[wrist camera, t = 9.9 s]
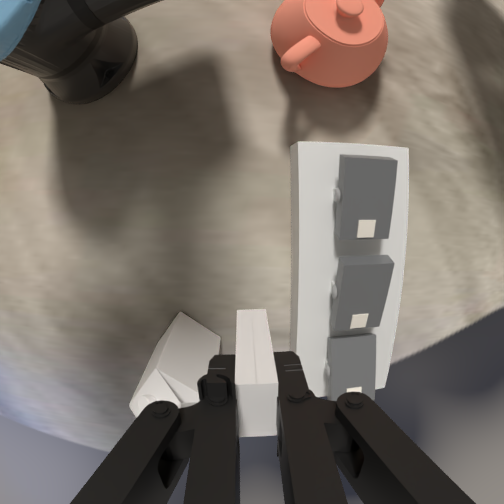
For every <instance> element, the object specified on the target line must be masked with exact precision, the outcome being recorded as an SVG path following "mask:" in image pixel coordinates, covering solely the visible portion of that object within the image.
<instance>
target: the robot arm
mask: <svg viewBox="0 0 504 504" xmlns="http://www.w3.org/2000/svg"><path fill="white" fill-rule="evenodd" d="M160 1H163V0H0V63H1V64H3V65H6V66H9V67H12V68H15V69H18V70H21V71H23V72H26V73H29V74H32V75H34V76H37V77H39V79H40V80H41V81H42V82H43V83H44V85H45V87H46V88H47V90H48V91H49V92H50V93H51V94H52V95H53V96H54V97H56V98H58V99H60V100H62V101H65V102H68V103H72V104H84V103H89V102H92V101H95V100H97V99H99V98H101V97H103V96H105V95H106V94H108V93H109V92H110V91H112V90H113V89H114V88H115V87H116V86H117V85H118V84H119V83H120V82H121V81H122V80H123V79H124V77H125V76H126V75H127V73H128V71H129V70H130V68H131V66H132V64H133V62H134V59H135V56H136V52H137V36H136V32H135V30H134V28H133V26H132V25H131V24H130V22H129V21H128V20H127V19H126V18H125V17H124V16H126V15H128V14H130V13H132V12H135V11H137V10H140V9H142V8H144V7H147V6H149V5H152V4H155V3H157V2H160ZM197 387H198V394H199V402H198V403H196V404H194V405H192V406H188V407H183V408H178V406H177V405H176V404H175V403H173V402H170V401H164V400H160V401H155V402H152V403H150V404H148V405H147V406H146V407H145V408H144V409H143V410H142V412H141V413H140V414H139V416H138V417H137V418H136V420H135V421H134V422H133V423H132V425H131V426H130V427H129V429H128V430H127V431H126V432H125V434H124V435H123V436H122V438H121V439H120V440H119V442H118V443H117V444H116V445H115V447H114V448H113V449H112V451H111V452H110V453H109V454H108V456H107V457H106V458H105V460H104V461H103V462H102V463H101V465H100V466H99V467H98V469H97V470H96V471H95V472H94V474H93V475H92V476H91V477H90V479H89V480H88V481H87V483H86V484H85V485H84V486H83V488H82V489H81V490H80V492H79V493H78V494H77V495H76V497H75V498H74V499H73V500H72V502H71V503H70V504H167V502H168V500H169V498H170V496H171V494H172V493H173V491H174V489H175V487H176V485H177V483H178V481H179V479H180V477H181V475H182V473H183V471H184V469H185V467H186V466H187V463H188V461H189V458H190V463H189V470H188V477H187V483H186V490H185V497H184V504H240V446H239V437H253V436H272V435H277V433H278V445H277V456H279V461H280V468H281V475H282V484H283V492H284V500H285V504H348V503H347V500H346V496H345V492H344V489H343V486H342V482H341V479H340V476H339V473H338V469H337V466H338V467H339V469H340V470H341V472H342V473H343V475H344V476H345V477H346V479H347V480H348V482H349V483H350V485H351V486H352V488H353V489H354V490H355V492H356V493H357V495H358V496H359V497H360V499H361V500H362V502H363V503H364V504H476V503H475V502H474V501H473V500H472V499H470V498H469V496H467V495H466V494H465V493H464V492H463V491H462V490H461V489H460V488H459V487H458V486H457V485H456V484H455V483H454V482H453V481H452V480H451V479H450V478H449V477H448V476H447V475H446V474H445V473H444V472H443V471H442V470H441V469H440V468H439V467H438V466H437V465H436V464H435V463H434V462H433V461H432V460H431V459H430V458H429V457H428V456H427V455H426V454H425V453H424V452H423V451H422V450H421V449H420V448H419V447H418V446H417V445H416V444H415V443H414V442H413V441H412V440H411V439H410V438H409V437H408V436H407V435H406V434H405V433H404V432H403V431H402V430H401V429H400V428H399V427H398V426H397V425H396V424H395V423H394V422H393V421H392V420H391V419H390V417H389V416H388V415H387V414H385V412H384V411H383V410H382V409H381V408H380V407H379V406H378V405H377V404H376V403H375V402H374V401H373V400H372V399H371V398H370V397H369V396H367V395H366V394H364V393H361V392H353V391H352V392H346V393H344V394H342V395H340V396H339V397H338V398H337V401H331V400H324V399H320V398H318V397H316V396H315V394H314V393H313V391H311V390H310V389H309V388H308V384H307V381H306V378H305V374H304V371H303V368H302V365H301V361H300V358H299V356H298V355H297V354H296V353H294V352H293V351H287V352H273V349H272V343H271V337H270V331H269V325H268V320H267V314H266V309H247V310H237V328H236V355H214V356H213V357H212V358H211V360H210V361H209V365H208V372H207V374H206V375H203V376H202V377H201V378H199V380H198V382H197ZM336 464H337V466H336Z"/></svg>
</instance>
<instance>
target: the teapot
mask: <svg viewBox="0 0 504 504" xmlns="http://www.w3.org/2000/svg"><path fill="white" fill-rule="evenodd" d="M383 2H384V0H285V1H284V2H283V3H282V4H281V5H280V7H279V8H278V10H277V11H276V13H275V15H274V18H273V21H272V25H271V40H272V43H273V46H274V48H275V50H276V52H277V54H278V55H279V56H280V58H281V65H282V67H283V68H284V69H285V70H287V71H289V72H296V73H297V74H298V75H300V76H301V77H303V78H305V79H306V80H308V81H311V82H313V83H315V84H318V85H321V86H326V87H334V88H339V87H347V86H351V85H355V84H357V83H359V82H361V81H363V80H365V79H366V78H367V77H369V76H370V75H371V74H372V73H373V72H374V71H375V70H376V69H377V67H378V66H379V64H380V63H381V61H382V59H383V57H384V55H385V52H386V48H387V43H388V31H387V25H386V21H385V18H384V15H383V13H382V11H381V9H380V7H381V6H382V4H383Z"/></svg>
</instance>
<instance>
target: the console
mask: <svg viewBox="0 0 504 504" xmlns="http://www.w3.org/2000/svg"><path fill="white" fill-rule="evenodd" d="M340 154H346V155H366V156H381V157H391V158H393V159H396V160H398V164H397V175H396V185H395V194H394V203H393V211H392V218H391V225H390V232H389V238H388V239H362V240H339V239H338V237H337V236H336V234H335V221H336V208H337V203H336V202H335V197H334V193H335V189H336V188H338V177H339V157H340ZM290 162H291V319H290V351H293V352H294V353H296V354H297V355H298V356H299V358H300V361H301V365H302V368H303V371H304V374H305V378H306V381H307V384H308V388H309V389H310V390H311V391H313V393H314V394H315V396H316V397H323V396H328V377H327V376H326V365H328V337H335V336H346V335H356V334H365V333H372V334H376V379H375V389H380V388H384V387H385V384H386V379H387V375H388V370H389V365H390V360H391V355H392V350H393V345H394V339H395V334H396V328H397V321H398V315H399V308H400V301H401V293H402V285H403V276H404V266H405V255H406V242H407V226H408V202H409V149H408V148H404V147H394V146H383V145H370V144H355V143H336V142H304V141H298V142H296V143H294V144H293V145H291V146H290ZM365 255H388V256H389V257H390V258H391V259H392V260H393V262H394V263H395V264H394V268H393V273H392V278H391V282H390V286H389V291H388V295H387V299H386V303H385V307H384V311H383V314H382V318H381V322H380V326H379V327H371V328H362V329H352V330H341V331H333V328H332V325H331V322H330V318H331V311H332V305H333V297H332V286H333V285H335V284H336V276H337V269H338V261H339V256H365Z"/></svg>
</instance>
